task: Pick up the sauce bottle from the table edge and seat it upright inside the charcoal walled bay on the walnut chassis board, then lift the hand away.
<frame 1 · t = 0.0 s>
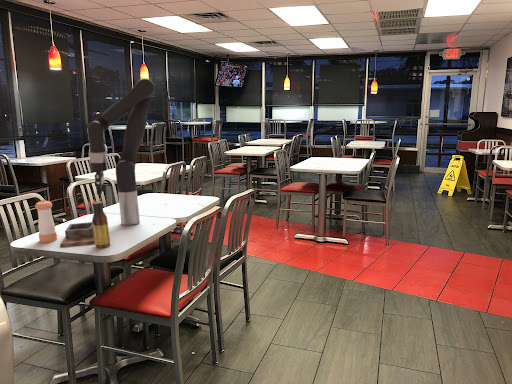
hand: (100, 193, 208), 17 cm above the table, tool pointing down, fingers open, 8 cm apart
sauce bottle: (102, 246, 178), on the table
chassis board: (81, 238, 190), on the table
pepper shaker: (48, 240, 189), on the table
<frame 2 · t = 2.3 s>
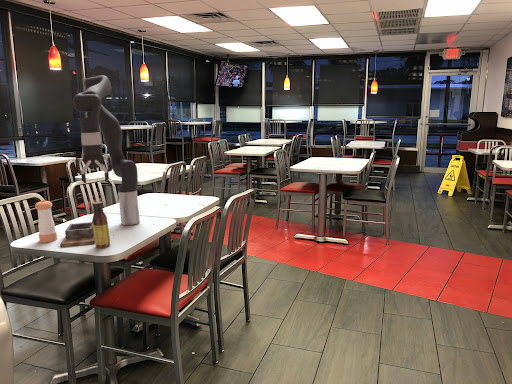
hand: (95, 182, 172), 28 cm above the table, tool pointing down, fingers open, 8 cm apart
nothing on the table moved.
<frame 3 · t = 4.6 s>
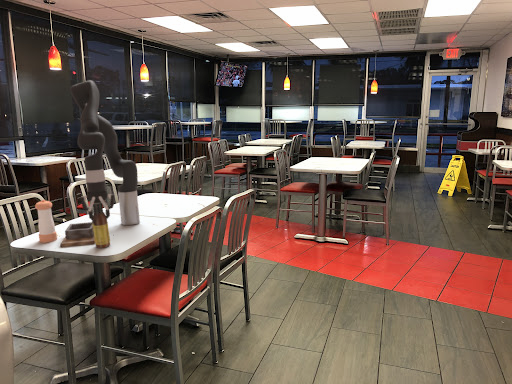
hand: (99, 218, 175), 13 cm above the table, tool pointing down, fingers closed on sauce bottle, 5 cm apart
sauce bottle: (102, 246, 178), on the table, touching gripper
everything else where it was.
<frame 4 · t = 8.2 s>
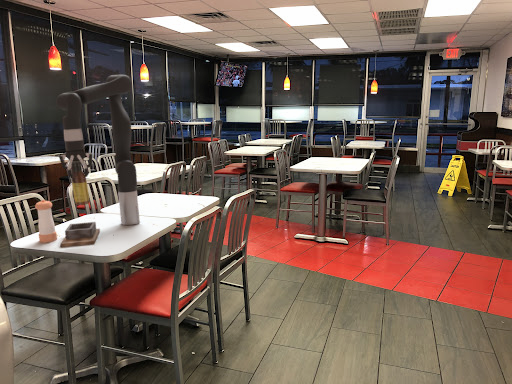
hand: (78, 177, 183), 29 cm above the table, tool pointing down, fingers closed on sauce bottle, 5 cm apart
sauce bottle: (82, 204, 186), point 16 cm above the table, touching gripper
everything else where it was.
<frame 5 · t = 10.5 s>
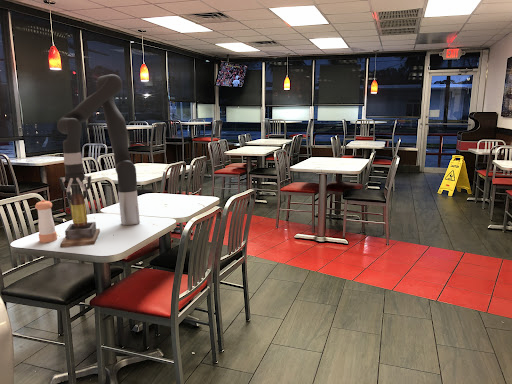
hand: (77, 199, 188), 19 cm above the table, tool pointing down, fingers closed on sauce bottle, 5 cm apart
sauce bottle: (80, 225, 190), point 6 cm above the table, touching gripper
everything else where it was.
when the fingers open (15 cm above the table, at t = 12.1 s): sauce bottle drops 1 cm, resting on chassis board.
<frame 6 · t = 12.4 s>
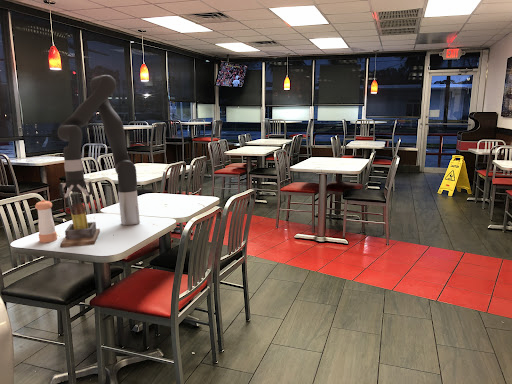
hand: (78, 204, 188), 16 cm above the table, tool pointing down, fingers open, 8 cm apart
sauce bottle: (82, 234, 191), point 1 cm above the table, touching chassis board
everything else where it was.
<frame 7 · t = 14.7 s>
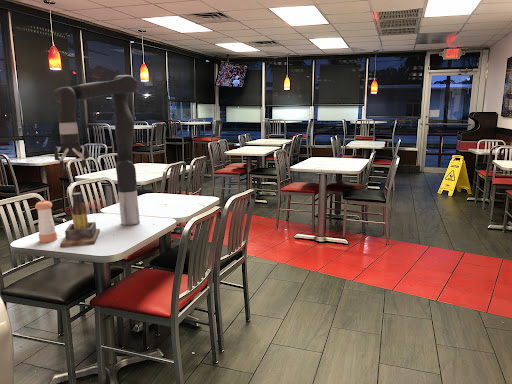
hand: (73, 168, 186), 32 cm above the table, tool pointing down, fingers open, 8 cm apart
nothing on the table moved.
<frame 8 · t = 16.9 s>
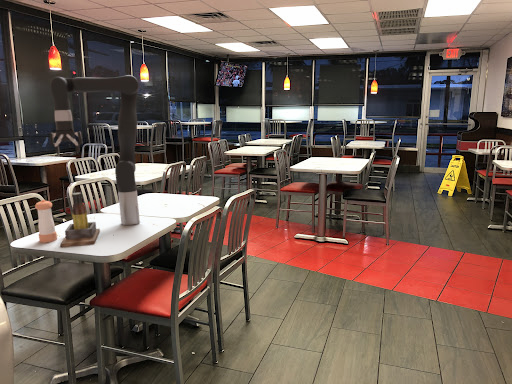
hand: (67, 153, 199), 38 cm above the table, tool pointing down, fingers open, 8 cm apart
nothing on the table moved.
at the end: sauce bottle 0.1 cm from the target spot, point 1.3 cm above the table; sauce bottle tilted 0°; the gripper is holding nothing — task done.
